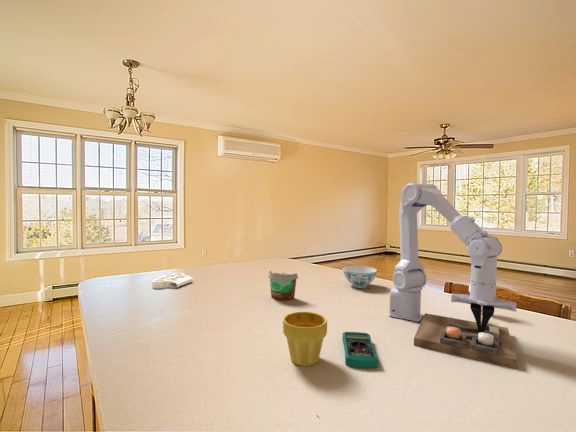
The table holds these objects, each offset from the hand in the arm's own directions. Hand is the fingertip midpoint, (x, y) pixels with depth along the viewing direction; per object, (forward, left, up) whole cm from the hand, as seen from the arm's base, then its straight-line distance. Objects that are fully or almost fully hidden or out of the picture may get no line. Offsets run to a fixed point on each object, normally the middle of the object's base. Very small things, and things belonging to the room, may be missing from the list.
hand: (481, 332), depth 83 cm
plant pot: (-36, -32, -3) cm, 49 cm away
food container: (-66, +5, -3) cm, 66 cm away
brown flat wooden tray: (-4, +1, -3) cm, 5 cm away
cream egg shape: (+1, -7, 0) cm, 7 cm away
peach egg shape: (-6, -7, 0) cm, 9 cm away
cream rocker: (+2, +8, 0) cm, 8 cm away
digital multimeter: (-26, -22, -4) cm, 34 cm away
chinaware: (-46, +41, -3) cm, 62 cm away
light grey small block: (+3, 0, -1) cm, 3 cm away
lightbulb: (0, +29, -3) cm, 29 cm away
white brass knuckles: (-119, -3, -4) cm, 119 cm away
